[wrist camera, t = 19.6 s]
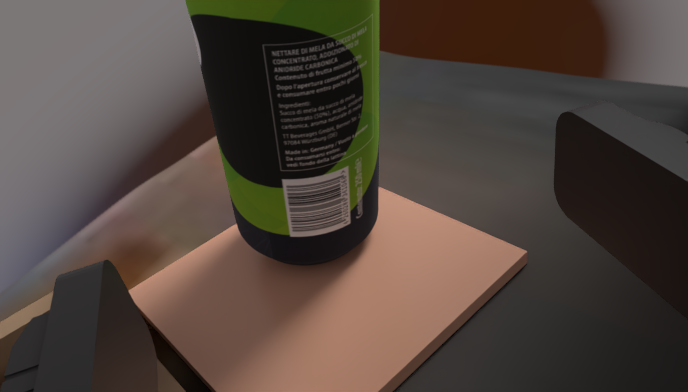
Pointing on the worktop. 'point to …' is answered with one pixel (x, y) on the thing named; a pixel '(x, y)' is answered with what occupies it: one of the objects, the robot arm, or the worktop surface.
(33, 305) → the wooden tray
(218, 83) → the beverage can
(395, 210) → the trivet
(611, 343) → the worktop surface
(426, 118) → the worktop surface
